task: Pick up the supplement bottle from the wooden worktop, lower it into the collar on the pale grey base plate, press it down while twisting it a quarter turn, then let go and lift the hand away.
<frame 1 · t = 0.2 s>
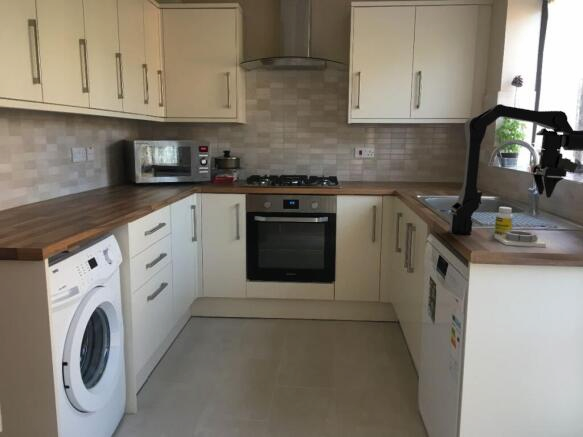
hand: (544, 196, 159), 14 cm above the worktop, tool pointing down, fingers open, 9 cm apart
socket base: (519, 242, 151), on the worktop
supplement bottle: (502, 236, 161), on the worktop
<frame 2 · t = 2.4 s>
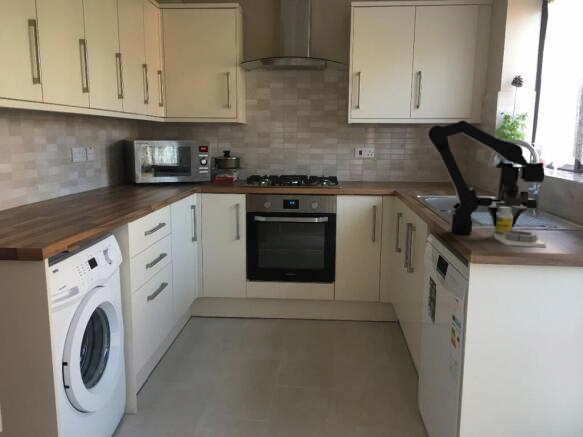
hand: (503, 226, 161), 3 cm above the worktop, tool pointing down, fingers closed on supplement bottle, 5 cm apart
supplement bottle: (502, 236, 161), on the worktop, touching gripper
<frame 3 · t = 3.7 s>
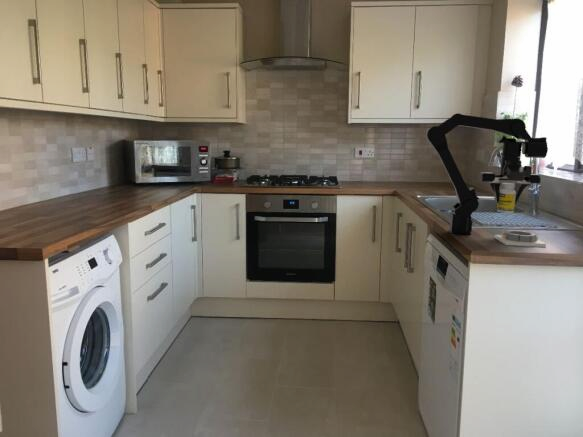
hand: (506, 203, 159), 11 cm above the worktop, tool pointing down, fingers closed on supplement bottle, 5 cm apart
supplement bottle: (505, 212, 160), point 8 cm above the worktop, touching gripper
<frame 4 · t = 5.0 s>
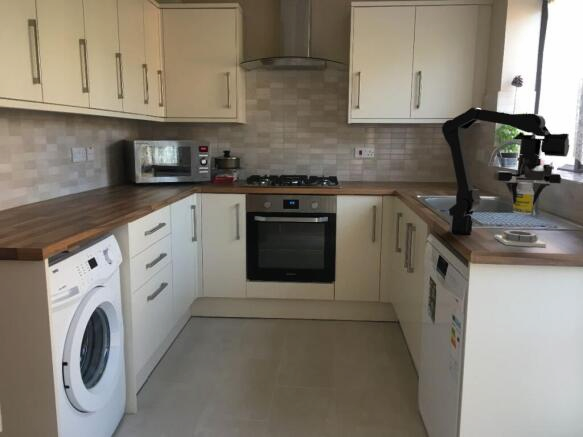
hand: (523, 204, 149), 12 cm above the worktop, tool pointing down, fingers closed on supplement bottle, 5 cm apart
supplement bottle: (522, 214, 150), point 9 cm above the worktop, touching gripper
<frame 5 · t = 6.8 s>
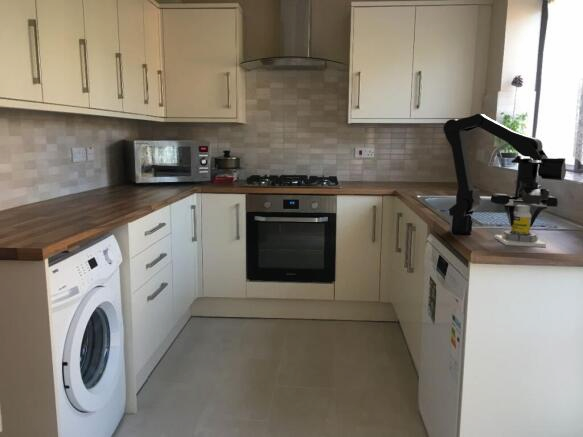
hand: (520, 226, 151), 5 cm above the worktop, tool pointing down, fingers closed on supplement bottle, 5 cm apart
supplement bottle: (519, 236, 151), point 2 cm above the worktop, touching gripper
when the fingers open (4 cm above the worktop, at t = 8.1 s): supplement bottle stays where it is, resting on socket base.
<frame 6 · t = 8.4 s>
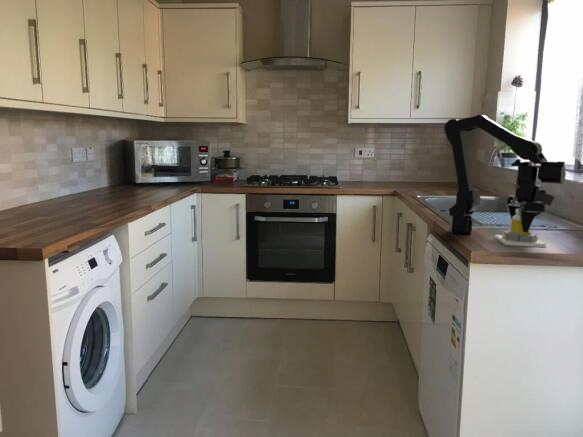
hand: (520, 229, 151), 4 cm above the worktop, tool pointing down, fingers open, 8 cm apart
supplement bottle: (518, 239, 151), point 1 cm above the worktop, touching socket base
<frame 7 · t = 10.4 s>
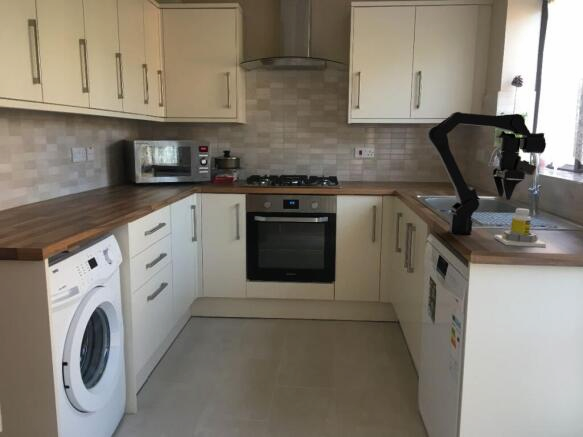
hand: (504, 198, 161), 13 cm above the worktop, tool pointing down, fingers open, 9 cm apart
nothing on the worktop moved.
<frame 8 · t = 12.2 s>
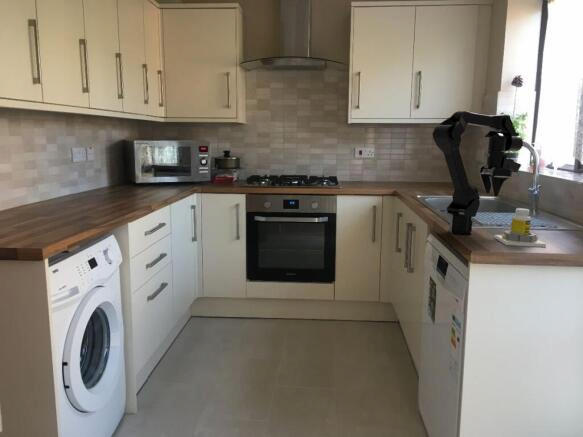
hand: (491, 194, 169), 13 cm above the worktop, tool pointing down, fingers open, 9 cm apart
nothing on the worktop moved.
at the end: supplement bottle 0.1 cm off-centre on the socket base, point 0.8 cm above the socket base's base; supplement bottle tilted 0°; the gripper is holding nothing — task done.
